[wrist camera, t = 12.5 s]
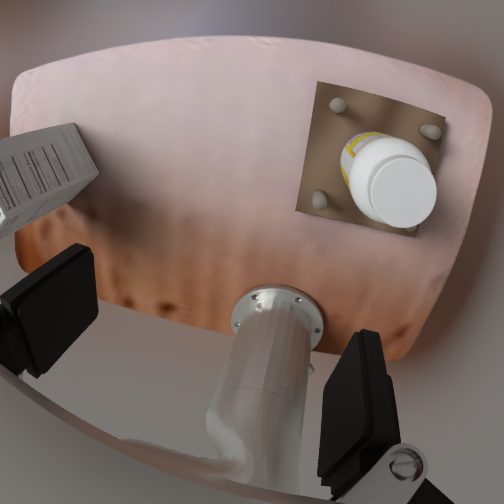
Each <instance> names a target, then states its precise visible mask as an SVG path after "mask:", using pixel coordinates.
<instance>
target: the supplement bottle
mask: <svg viewBox="0 0 504 504" xmlns="http://www.w3.org/2000/svg"><path fill="white" fill-rule="evenodd" d="M340 165H341V171H342V174H343V177H344V179H345V181H346V184H347V186H348V188H349V190H350V193H351V195H352V198H353V200H354V202H355V203H356V205H357V206H358V208H359V209H360V210H361V211H362V212H363V213H364V214H365V215H366V216H368V217H369V218H370V219H372V220H374V221H377V222H380V223H384V224H388V225H390V226H393V227H397V228H408V227H413V226H416V225H418V224H419V223H421V222H422V221H424V220H425V219H426V218H427V217H428V216H429V215H430V213H431V211H432V210H433V208H434V205H435V202H436V197H437V187H436V182H435V179H434V177H433V175H432V173H431V169H430V166H429V164H428V161H427V160H426V158H425V156H424V155H423V154H422V152H421V151H420V150H419V149H418V148H417V147H415V146H414V145H413V144H411V143H409V142H407V141H405V140H402V139H399V138H396V137H393V136H389V135H386V134H383V133H379V132H364V133H361V134H358V135H356V136H354V137H353V138H352V139H351V140H349V142H348V143H347V144H346V145H345V147H344V149H343V151H342V154H341V161H340Z"/></svg>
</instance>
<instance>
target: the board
mask: <svg viewBox="0 0 504 504" xmlns="http://www.w3.org/2000/svg"><path fill="white" fill-rule="evenodd" d="M445 119H446V117H443V116H441V115H438V114H435V113H433V112H430V111H427V110H424V109H421V108H418V107H415V106H412V105H409V104H406V103H403V102H400V101H397V100H393V99H390V98H387V97H383V96H379V95H376V94H372V93H368V92H364V91H360V90H356V89H352V88H348V87H343V86H339V85H334V84H329V83H324V82H319V81H317V87H316V94H315V101H314V107H313V113H312V119H311V126H310V132H309V138H308V144H307V150H306V155H305V161H304V167H303V172H302V178H301V184H300V189H299V194H298V200H297V205H296V210H295V211H299V212H304V213H309V214H314V215H318V216H323V217H328V218H332V219H337V220H342V221H346V222H351V223H355V224H359V225H364V226H368V227H372V228H377V229H381V230H385V231H389V232H393V233H397V234H401V235H405V236H409V237H413V238H415V236H416V233H417V230H418V227H419V224H420V223H419V224H418V225H416V226H413V227H408V228H397V227H393V226H390V225H388V224H384V223H380V222H377V221H374V220H372V219H370V218H369V217H368V216H366V215H365V214H364V213H363V212H362V211H361V210H360V209H359V208H358V206H357V205H356V203H355V202H354V200H353V198H352V195H351V193H350V190H349V188H348V186H347V184H346V181H345V179H344V177H343V174H342V171H341V165H340V161H341V154H342V151H343V149H344V147H345V145H346V144H347V143H348V142H349V140H351V139H352V138H353V137H354V136H356V135H358V134H361V133H364V132H379V133H383V134H386V135H389V136H393V137H396V138H399V139H402V140H405V141H407V142H409V143H411V144H413V145H414V146H415V147H417V148H418V149H419V150H420V151H421V152H422V154H423V155H424V156H425V158H426V160H427V161H428V164H429V166H430V169H431V173H432V175H434V171H435V167H436V163H437V158H438V154H439V149H440V145H441V140H442V135H443V130H444V125H445Z"/></svg>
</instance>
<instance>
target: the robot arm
mask: <svg viewBox="0 0 504 504" xmlns="http://www.w3.org/2000/svg"><path fill="white" fill-rule="evenodd" d="M298 297H299V298H298ZM0 300H1V303H2V304H1V305H0V504H454V503H453V502H452V501H451V500H450V499H449V498H448V497H446V496H445V495H444V494H443V493H442V492H441V491H440V490H439V489H437V488H436V487H435V486H434V485H433V484H432V483H431V482H430V481H429V480H427V479H426V478H425V477H426V474H427V469H428V465H427V460H426V458H425V456H424V454H423V453H422V452H421V451H420V450H419V449H418V448H416V447H415V446H413V445H410V444H406V443H403V444H401V438H400V430H399V422H398V415H397V408H396V402H395V395H394V389H393V383H392V379H391V377H390V376H389V375H387V371H386V366H385V360H384V355H383V350H382V344H381V339H380V335H379V333H378V332H374V331H370V330H365V329H362V330H361V331H360V332H355V333H354V334H353V336H352V338H351V340H350V341H349V343H348V345H347V347H346V349H345V351H344V353H343V355H342V356H341V358H340V360H339V362H338V364H337V365H336V367H335V369H334V371H333V372H332V374H331V376H330V378H329V379H328V381H327V383H326V385H325V387H324V391H323V405H322V422H321V436H320V448H319V459H318V469H317V476H318V477H322V480H321V486H329V487H331V494H332V496H331V497H330V498H329V499H328V500H323V499H317V498H312V497H306V496H300V495H299V486H298V475H299V474H298V473H299V455H300V445H301V435H302V427H303V418H304V409H305V400H306V391H307V381H308V375H311V374H312V373H313V372H314V368H313V366H312V365H311V364H310V351H311V350H313V349H314V348H315V347H316V346H317V344H318V343H319V341H320V339H321V337H322V334H323V317H322V314H321V311H320V309H319V307H318V306H317V304H316V303H315V302H314V301H313V300H312V299H311V298H310V297H308V296H307V295H306V294H304V293H303V292H301V291H299V290H297V289H294V288H291V287H287V286H281V285H266V286H261V287H257V288H255V289H252V290H250V291H248V292H247V293H245V294H244V295H243V296H242V297H241V298H240V299H239V300H238V301H237V303H236V305H235V307H234V309H233V311H232V316H231V326H232V329H233V332H234V334H235V336H236V337H235V340H234V342H233V345H232V347H231V350H230V353H229V355H228V358H227V361H226V363H225V366H224V369H223V371H222V374H221V377H220V379H219V382H218V385H217V387H216V390H215V393H214V395H213V398H212V401H211V403H210V406H209V409H208V412H207V416H206V428H207V432H208V435H209V438H210V440H211V443H212V444H213V446H214V448H215V450H216V452H217V454H218V455H219V457H220V459H210V458H205V457H197V456H193V455H189V454H186V453H182V452H179V451H175V450H172V449H168V448H165V447H162V446H159V445H156V444H153V443H149V442H146V441H142V440H138V439H130V438H125V439H124V438H123V439H118V438H116V437H114V436H112V435H110V434H108V433H106V432H104V431H103V430H101V429H98V428H97V427H95V426H93V425H91V424H89V423H87V422H86V421H84V420H82V419H81V418H79V417H77V416H75V415H74V414H72V413H70V412H69V411H67V410H65V409H64V408H62V407H60V406H59V405H57V404H56V403H54V402H53V401H51V400H49V399H48V398H47V397H45V396H44V395H42V394H40V393H39V392H38V391H36V390H35V389H33V388H32V387H31V386H29V385H28V384H26V383H25V382H24V381H23V371H24V370H25V369H26V370H27V372H28V373H29V374H31V375H32V376H33V377H35V378H36V379H38V378H39V376H40V375H41V374H45V373H46V372H47V371H48V370H49V369H50V368H51V367H52V366H53V364H54V363H55V362H56V361H57V360H58V359H59V358H60V357H61V356H62V354H63V353H64V352H65V351H66V350H67V349H68V348H69V347H70V346H71V345H72V344H73V342H74V341H75V340H76V339H77V338H78V337H79V336H80V335H81V333H83V332H84V331H85V330H86V329H87V327H88V326H89V325H90V324H91V323H92V322H93V321H94V320H95V319H96V317H97V315H98V302H97V292H96V281H95V268H94V255H93V253H92V252H91V249H90V248H89V247H87V246H84V245H81V244H79V243H75V244H73V245H72V246H70V247H68V248H67V249H65V250H64V251H62V252H61V253H59V254H58V255H56V256H55V257H53V258H52V259H50V260H49V261H48V262H46V263H45V264H43V265H42V266H40V267H39V268H37V269H36V270H35V271H33V272H32V273H30V274H29V275H28V276H26V277H25V278H23V279H22V280H21V281H19V282H18V283H17V284H15V285H14V286H13V287H11V288H10V289H9V290H7V291H6V292H5V293H3V294H2V295H1V296H0Z"/></svg>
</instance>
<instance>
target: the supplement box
mask: <svg viewBox="0 0 504 504" xmlns="http://www.w3.org/2000/svg"><path fill="white" fill-rule="evenodd" d="M98 175H99V171H98V169H97V168H96V166H95V164H94V162H93V160H92V158H91V156H90V154H89V152H88V150H87V149H86V147H85V145H84V143H83V141H82V139H81V137H80V135H79V133H78V131H77V129H76V127H75V124H74V123H68V124H63V125H58V126H53V127H48V128H44V129H40V130H35V131H31V132H27V133H23V134H19V135H16V136H12V137H8V138H5V139H1V140H0V241H1V240H3V239H4V238H6V237H8V236H9V235H11V234H13V233H14V232H16V231H17V230H19V229H20V228H22V227H24V226H25V225H27V224H29V223H31V222H33V221H35V220H37V219H39V218H40V217H42V216H44V215H46V214H48V213H50V212H52V211H53V210H55V209H57V208H59V207H61V206H63V205H65V204H67V203H68V202H70V201H71V200H72V199H73V198H74V197H75V196H76V195H77V194H78V193H79V192H80V191H81V190H82V189H84V188H85V187H86V186H87V185H88V184H89V183H90V182H91V181H92V180H94V179H95V178H96V177H97V176H98Z"/></svg>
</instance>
